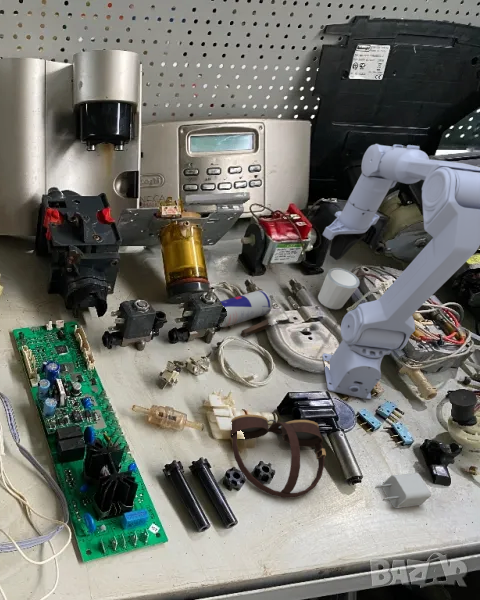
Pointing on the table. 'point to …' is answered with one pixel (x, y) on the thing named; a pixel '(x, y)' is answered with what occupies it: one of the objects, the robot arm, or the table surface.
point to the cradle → (255, 328)
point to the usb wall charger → (405, 490)
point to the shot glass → (337, 288)
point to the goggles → (292, 433)
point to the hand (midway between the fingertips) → (334, 256)
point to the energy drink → (246, 307)
